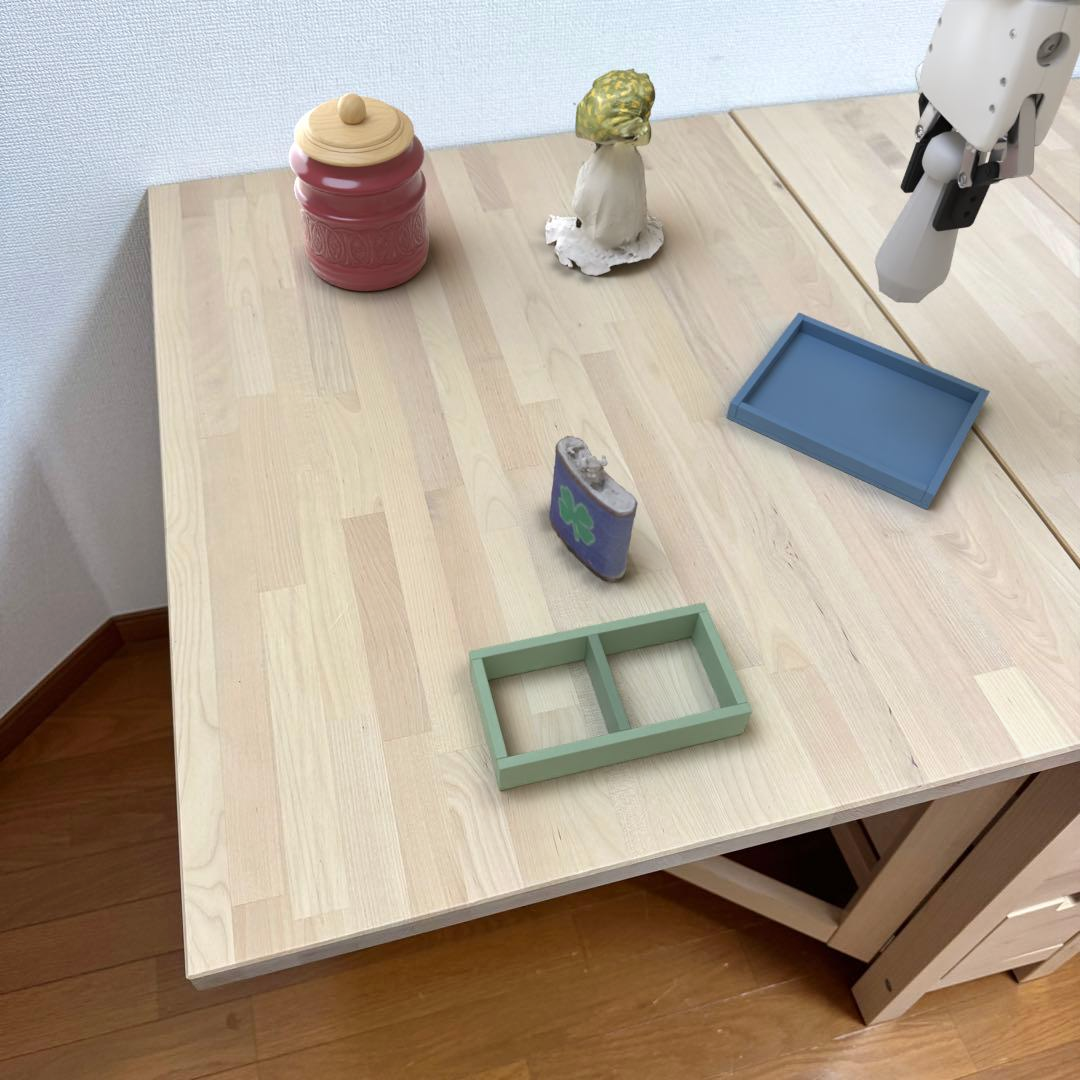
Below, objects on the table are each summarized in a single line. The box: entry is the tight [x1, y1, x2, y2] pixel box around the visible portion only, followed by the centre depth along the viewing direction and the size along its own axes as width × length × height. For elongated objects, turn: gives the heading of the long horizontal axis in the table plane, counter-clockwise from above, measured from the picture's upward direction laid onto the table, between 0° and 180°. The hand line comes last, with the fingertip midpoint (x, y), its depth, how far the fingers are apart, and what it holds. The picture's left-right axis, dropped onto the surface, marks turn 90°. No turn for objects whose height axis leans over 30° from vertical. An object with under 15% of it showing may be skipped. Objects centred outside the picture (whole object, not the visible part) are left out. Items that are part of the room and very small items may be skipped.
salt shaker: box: [874, 131, 988, 304], centre depth 77 cm, size 6×6×13 cm
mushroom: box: [545, 68, 665, 277], centre depth 102 cm, size 12×13×18 cm
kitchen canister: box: [288, 92, 430, 292], centre depth 99 cm, size 13×13×18 cm
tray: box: [726, 312, 991, 511], centre depth 94 cm, size 20×16×2 cm
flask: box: [548, 435, 638, 583], centre depth 79 cm, size 9×3×11 cm, turn 34°
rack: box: [468, 601, 753, 791], centre depth 73 cm, size 18×10×4 cm, turn 105°
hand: (935, 205), depth 76 cm, fingers closed on salt shaker, 4 cm apart
